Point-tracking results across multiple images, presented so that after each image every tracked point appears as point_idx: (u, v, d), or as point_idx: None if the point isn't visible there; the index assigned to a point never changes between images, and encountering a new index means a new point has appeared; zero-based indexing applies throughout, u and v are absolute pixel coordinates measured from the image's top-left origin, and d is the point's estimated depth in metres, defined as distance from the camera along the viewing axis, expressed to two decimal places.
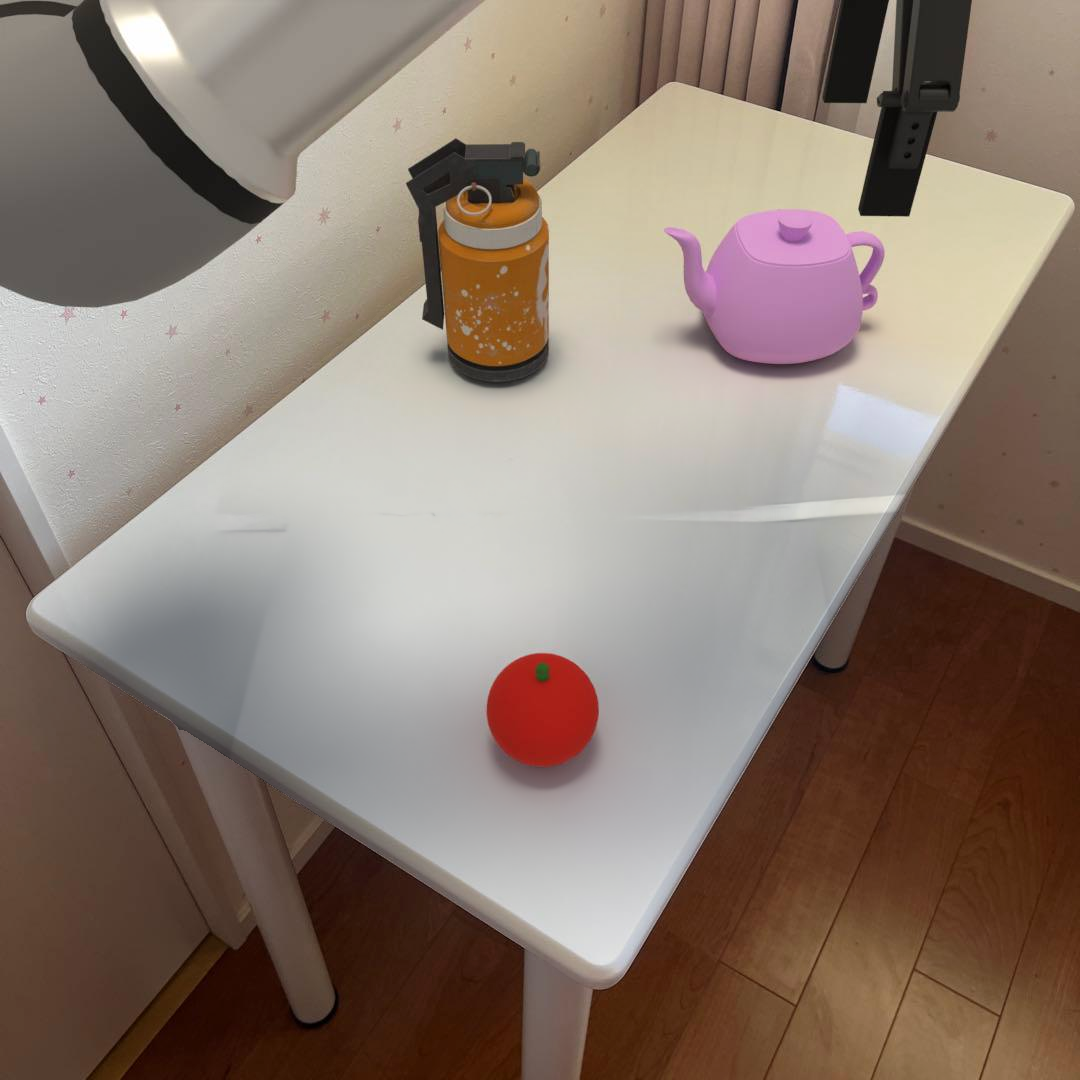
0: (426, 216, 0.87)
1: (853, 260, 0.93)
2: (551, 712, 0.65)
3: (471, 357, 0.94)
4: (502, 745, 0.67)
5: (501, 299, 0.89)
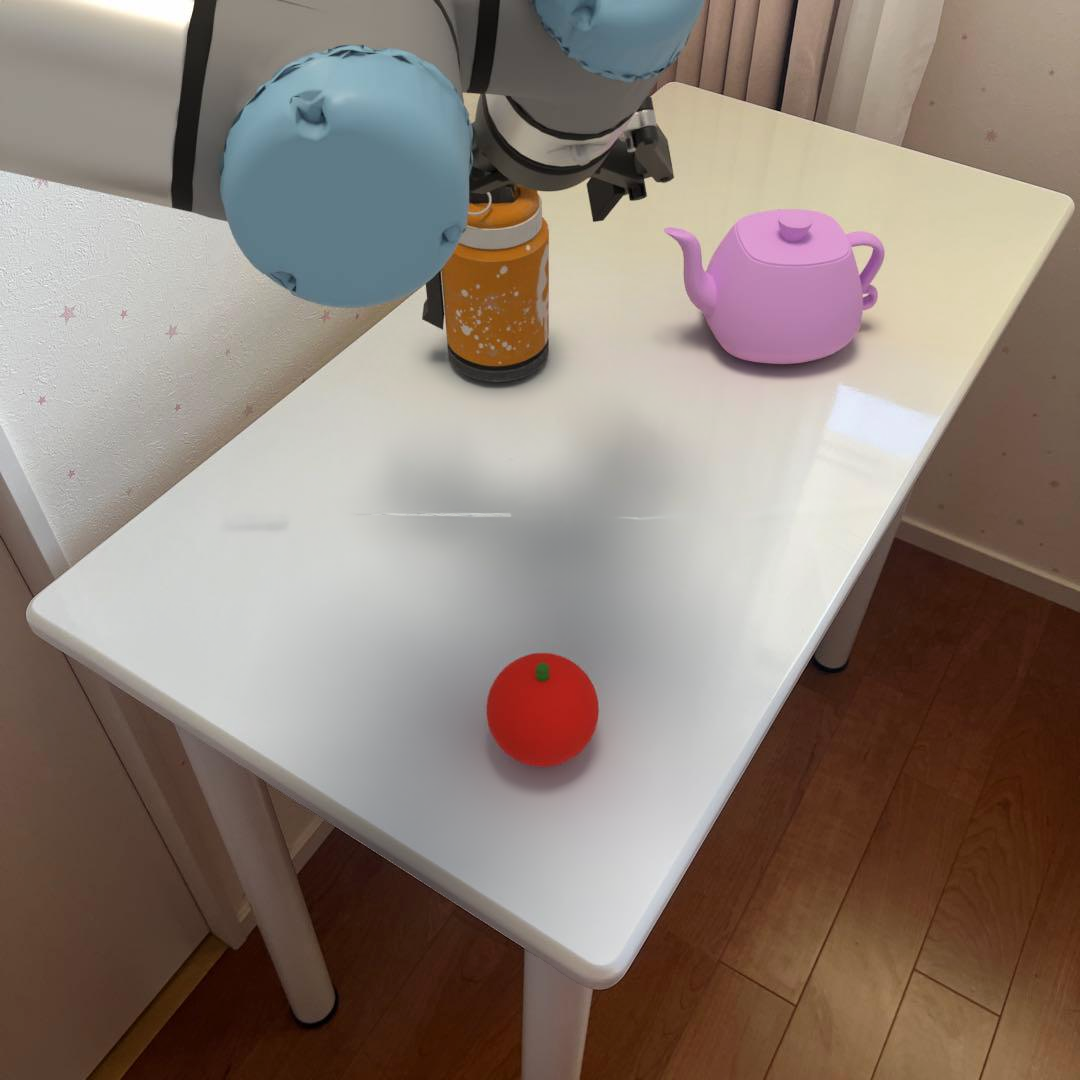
0: None
1: (853, 260, 0.93)
2: (551, 712, 0.65)
3: (471, 357, 0.94)
4: (502, 745, 0.67)
5: (501, 299, 0.89)
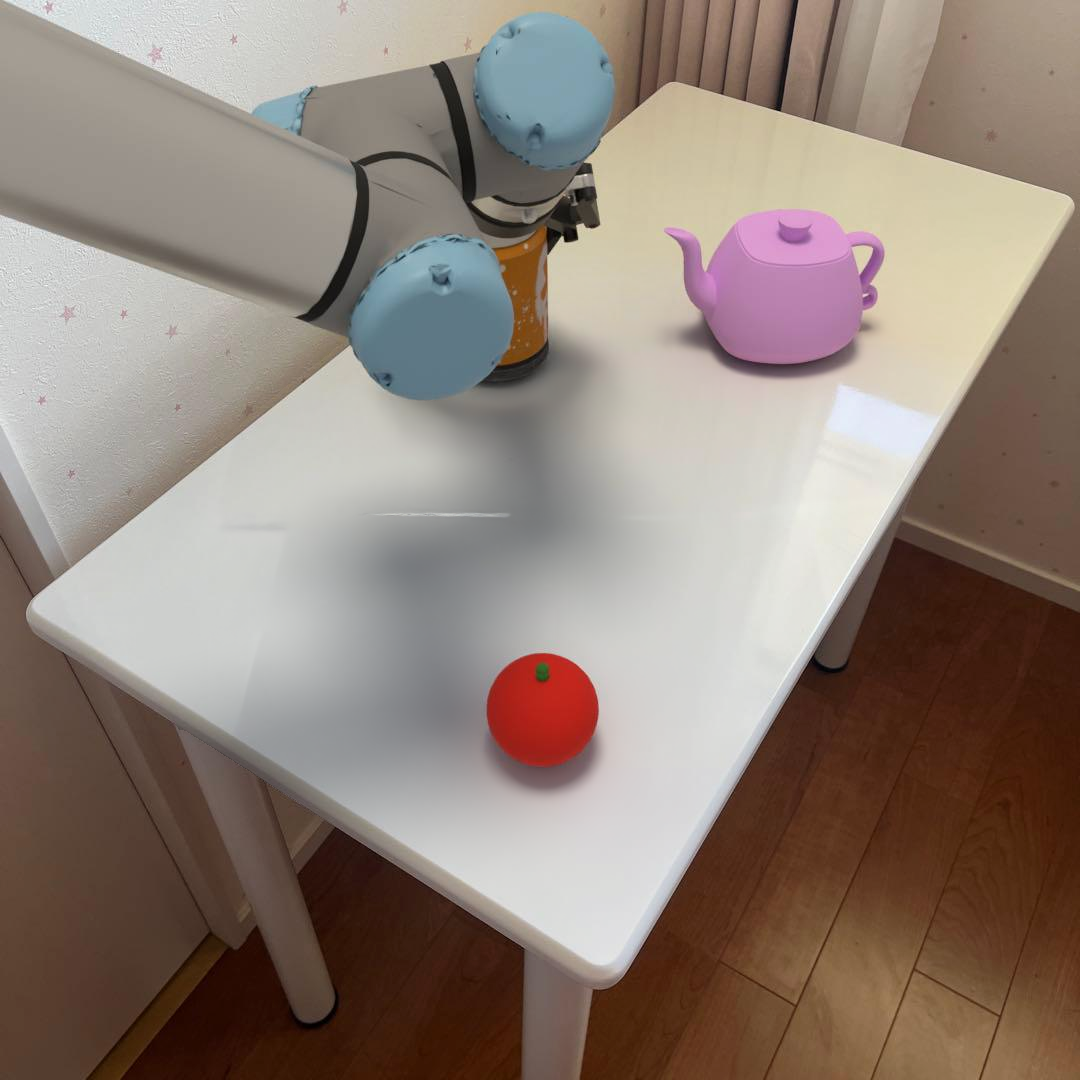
0: None
1: (853, 260, 0.93)
2: (551, 712, 0.65)
3: None
4: (502, 745, 0.67)
5: None
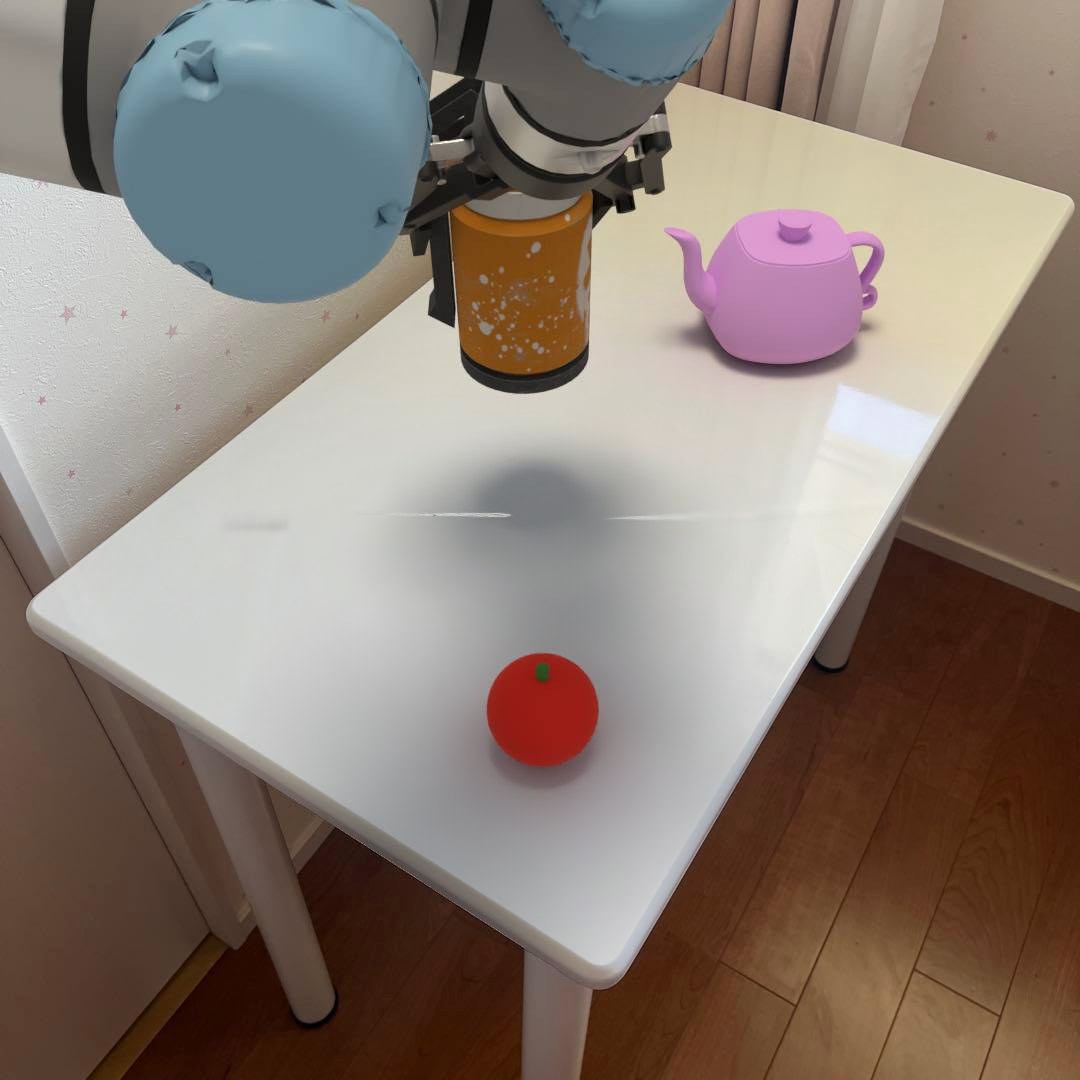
0: None
1: (853, 260, 0.93)
2: (551, 712, 0.65)
3: (492, 363, 0.73)
4: (502, 745, 0.67)
5: (531, 286, 0.68)
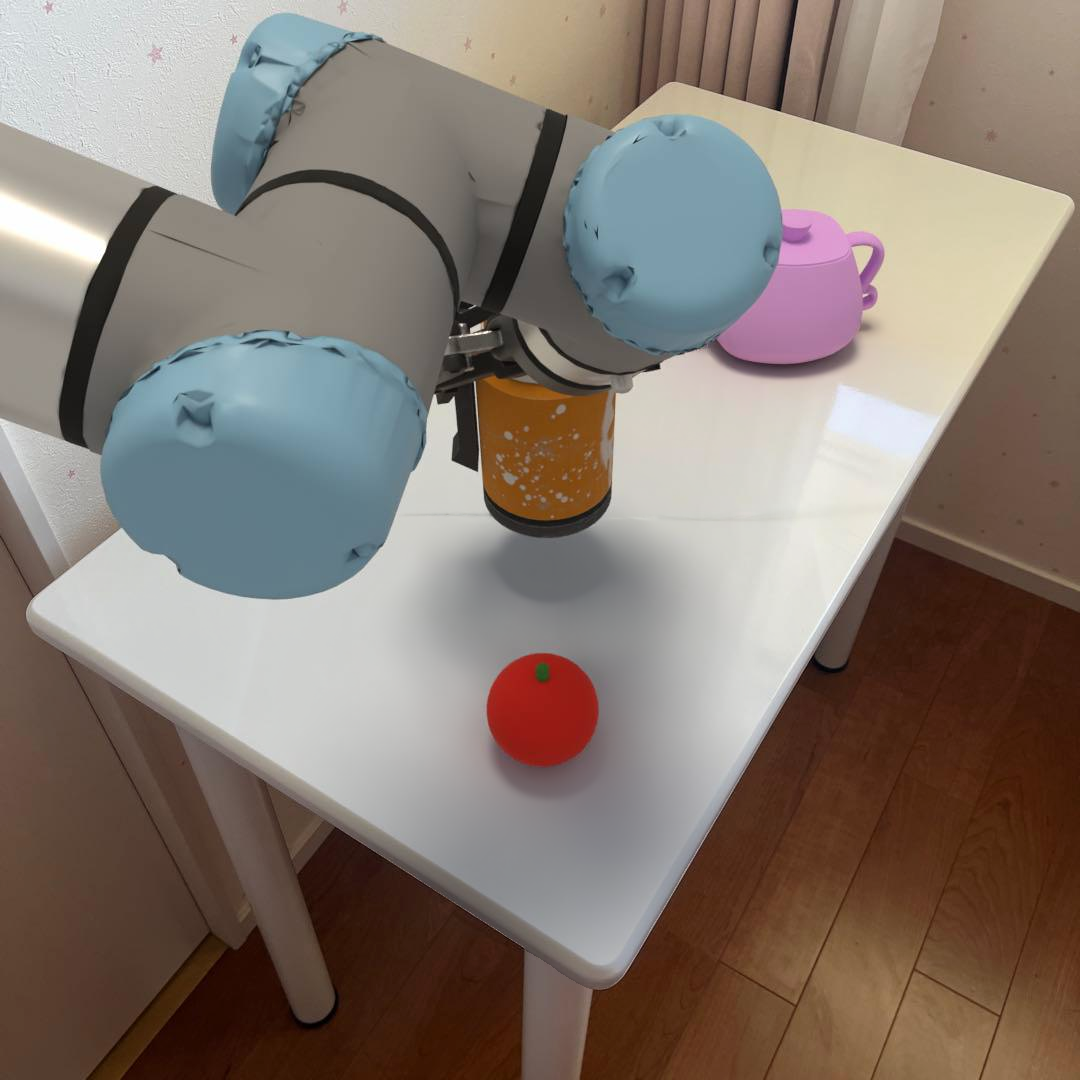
0: None
1: (853, 260, 0.93)
2: (551, 712, 0.65)
3: (515, 509, 0.73)
4: (502, 745, 0.67)
5: (556, 443, 0.68)
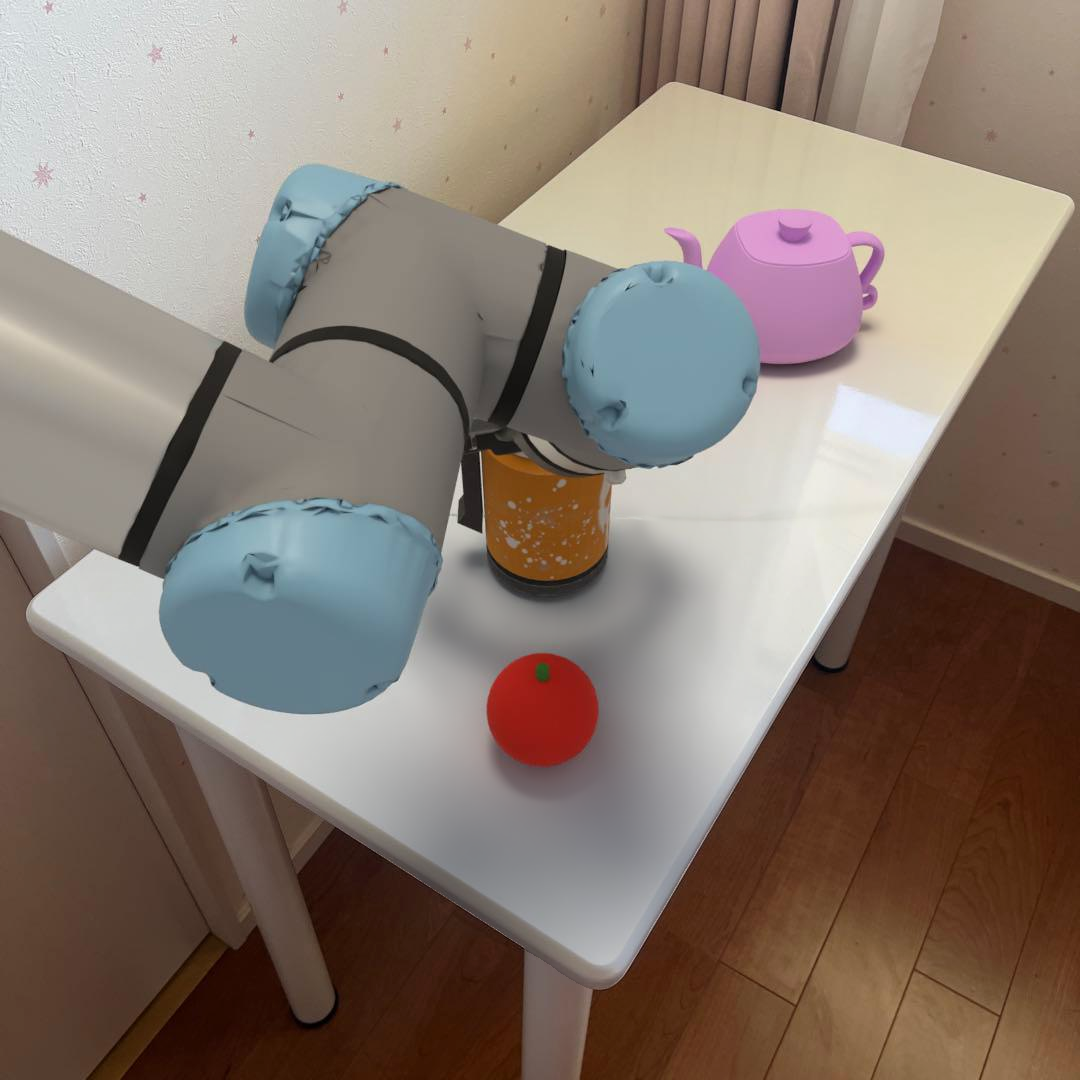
0: None
1: (853, 260, 0.93)
2: (551, 712, 0.65)
3: (517, 570, 0.77)
4: (502, 745, 0.67)
5: (556, 513, 0.72)
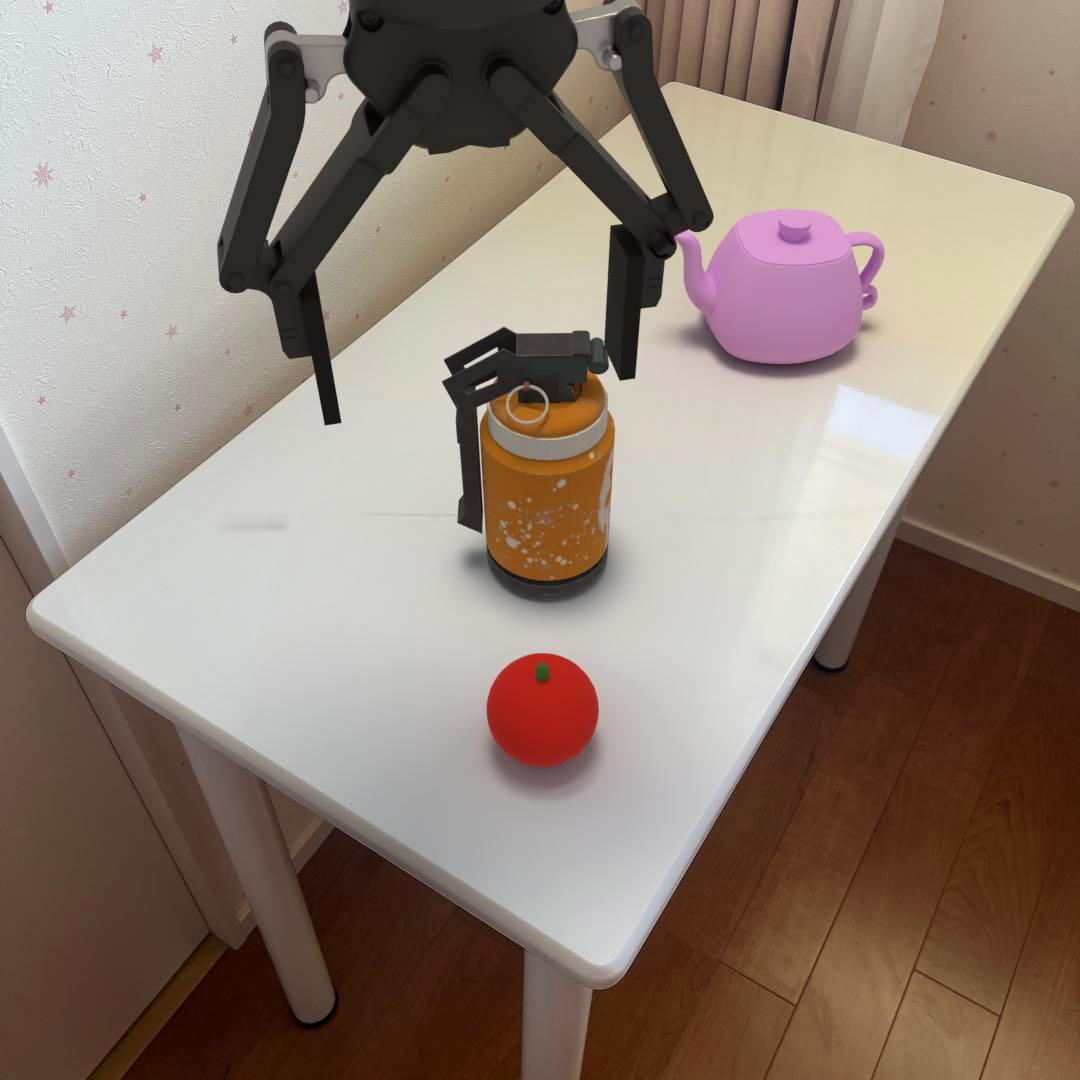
0: (466, 416, 0.71)
1: (853, 260, 0.93)
2: (551, 712, 0.65)
3: (517, 570, 0.77)
4: (502, 745, 0.67)
5: (556, 513, 0.72)
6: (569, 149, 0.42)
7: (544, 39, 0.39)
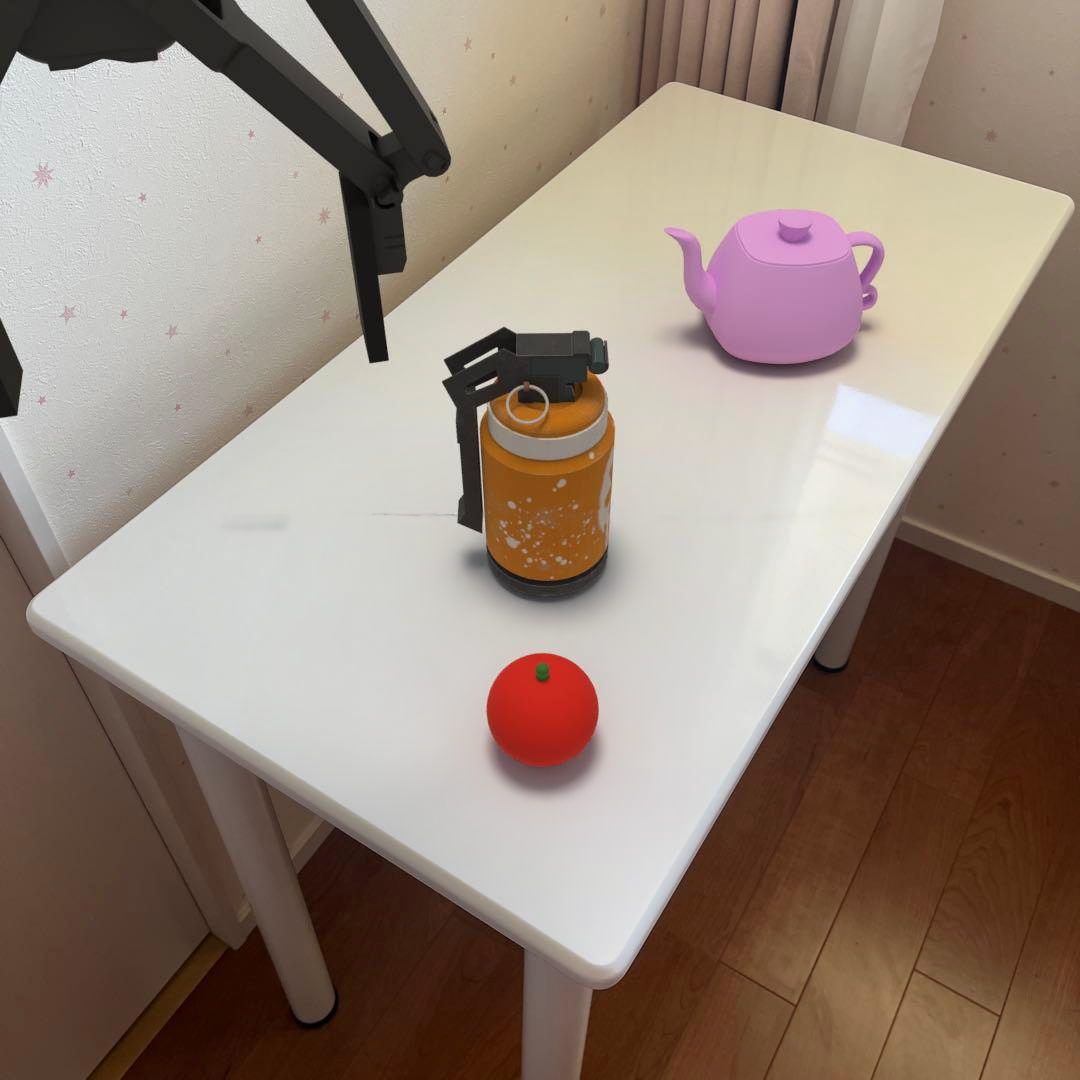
0: (466, 416, 0.71)
1: (853, 260, 0.93)
2: (551, 712, 0.65)
3: (517, 570, 0.77)
4: (502, 745, 0.67)
5: (556, 513, 0.72)
6: (238, 66, 0.33)
7: None
